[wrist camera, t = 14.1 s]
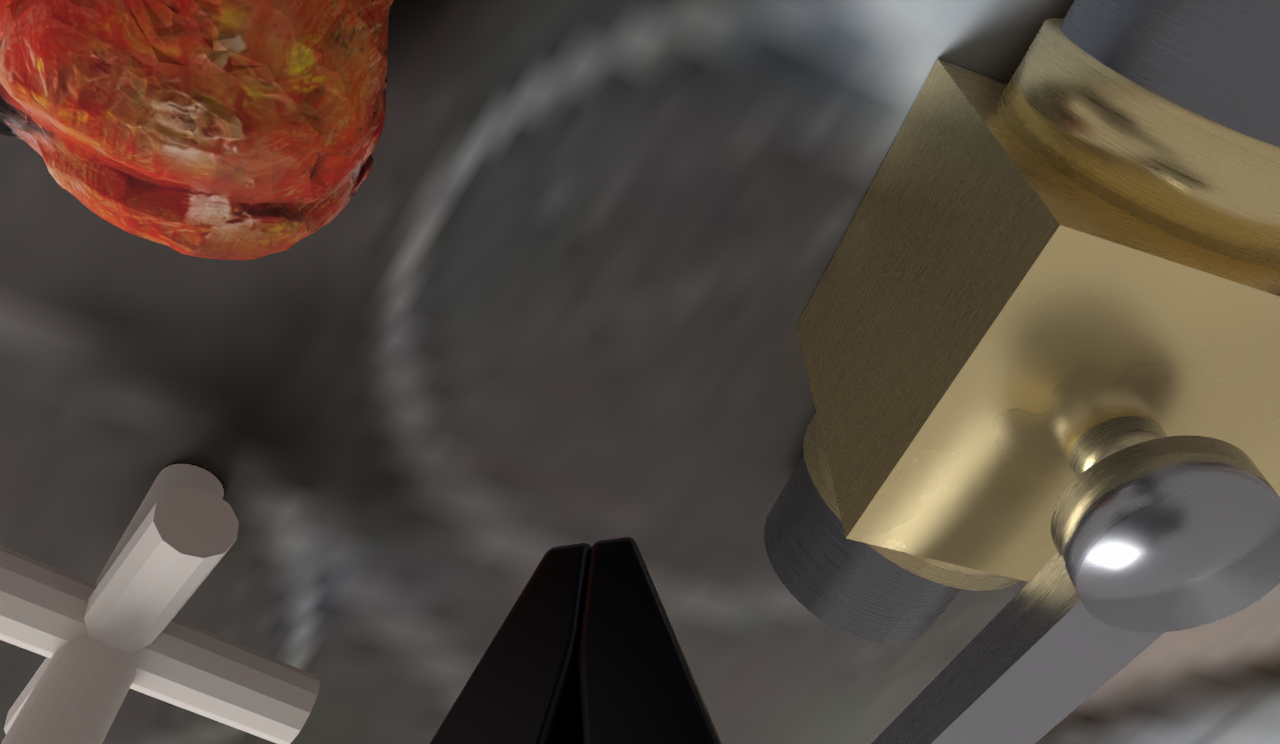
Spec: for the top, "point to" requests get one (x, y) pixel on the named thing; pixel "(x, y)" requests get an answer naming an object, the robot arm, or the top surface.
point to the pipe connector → (142, 629)
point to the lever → (1109, 589)
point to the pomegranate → (200, 112)
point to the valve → (1038, 304)
